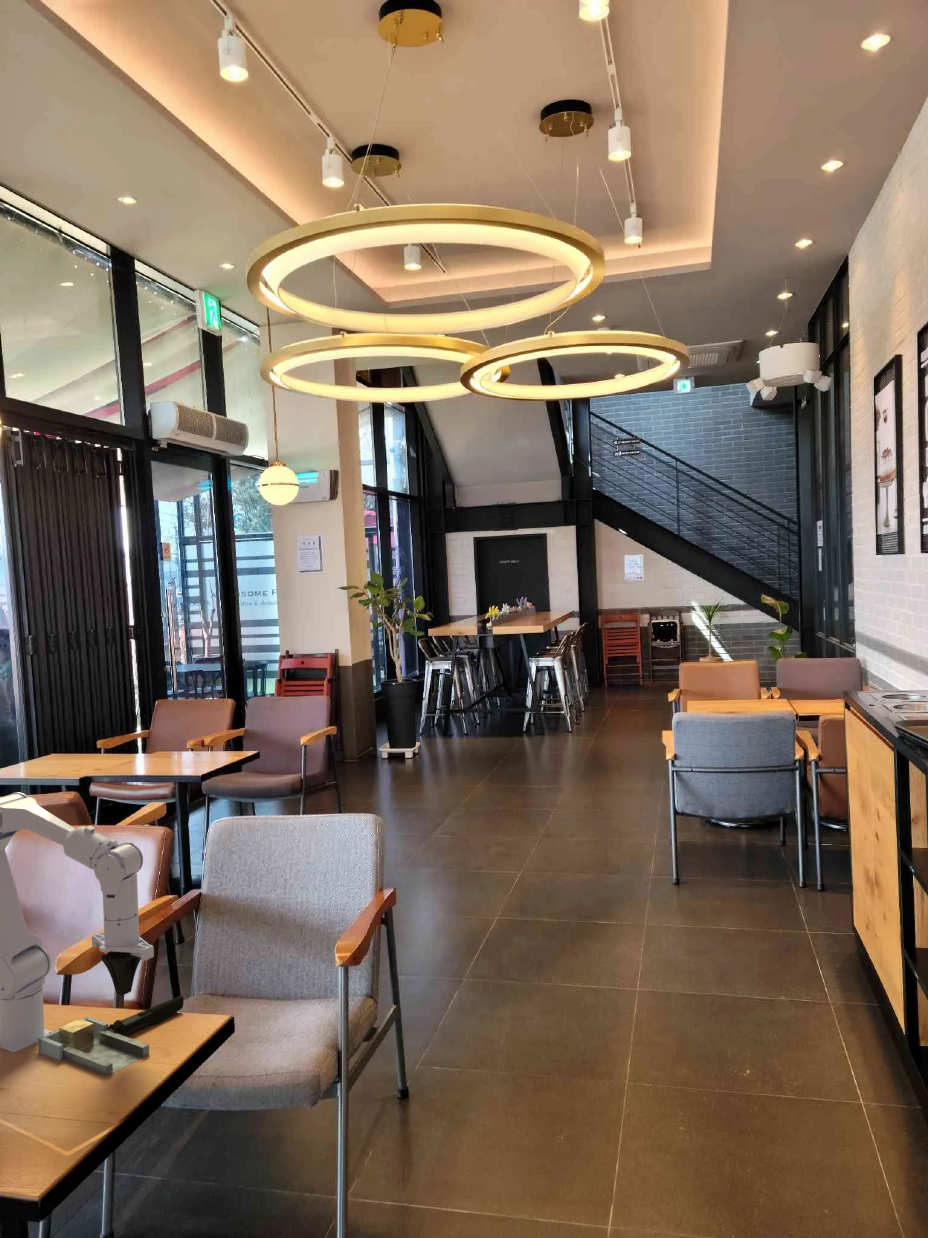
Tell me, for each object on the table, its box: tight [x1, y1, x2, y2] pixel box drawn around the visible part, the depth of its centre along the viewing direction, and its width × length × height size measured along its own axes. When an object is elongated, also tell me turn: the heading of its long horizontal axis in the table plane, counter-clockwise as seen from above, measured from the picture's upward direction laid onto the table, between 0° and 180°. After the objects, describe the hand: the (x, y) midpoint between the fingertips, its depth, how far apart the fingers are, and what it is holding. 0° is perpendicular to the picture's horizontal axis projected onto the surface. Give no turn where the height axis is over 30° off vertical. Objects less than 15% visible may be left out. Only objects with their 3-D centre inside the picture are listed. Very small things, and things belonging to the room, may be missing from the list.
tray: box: [37, 1016, 109, 1061], centre depth 158 cm, size 6×10×3 cm, turn 147°
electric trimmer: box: [107, 995, 184, 1037], centre depth 165 cm, size 4×16×3 cm, turn 143°
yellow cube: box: [58, 1018, 94, 1050], centre depth 158 cm, size 4×4×4 cm
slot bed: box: [62, 1029, 150, 1077], centre depth 153 cm, size 12×8×2 cm
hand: (123, 993), depth 157 cm, fingers closed
